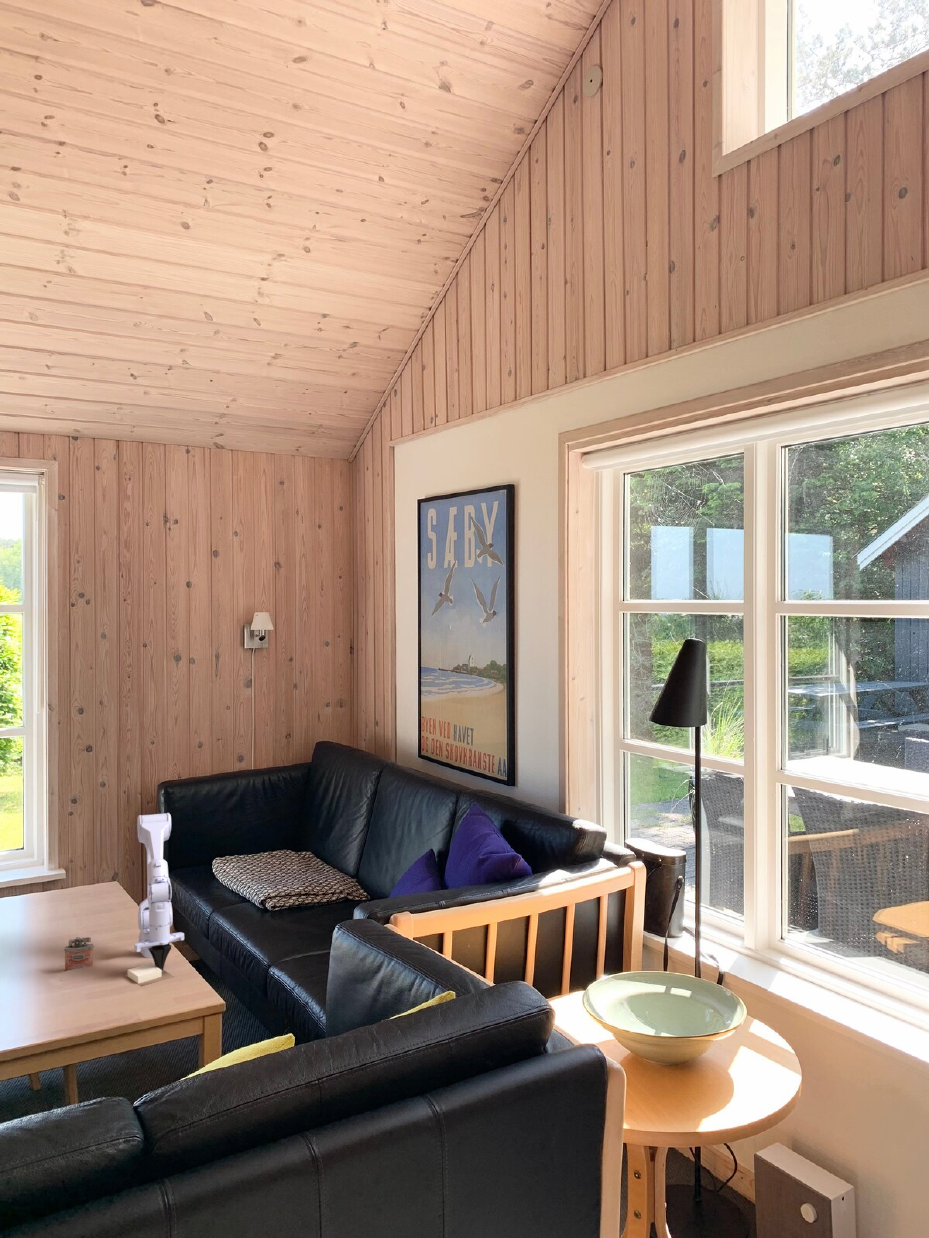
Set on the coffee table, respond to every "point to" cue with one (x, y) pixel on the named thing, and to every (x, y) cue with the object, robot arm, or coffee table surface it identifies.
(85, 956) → the lighter
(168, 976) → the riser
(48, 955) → the coffee table surface
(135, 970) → the cream flat block
